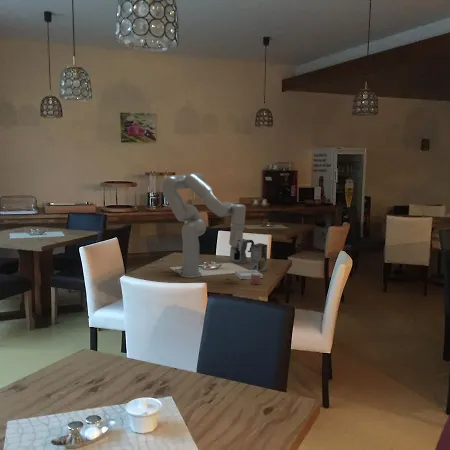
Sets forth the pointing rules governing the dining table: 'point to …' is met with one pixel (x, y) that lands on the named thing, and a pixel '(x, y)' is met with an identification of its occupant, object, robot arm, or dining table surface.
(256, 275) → the jam jar
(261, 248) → the coffee box
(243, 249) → the coffeepot
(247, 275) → the tray
